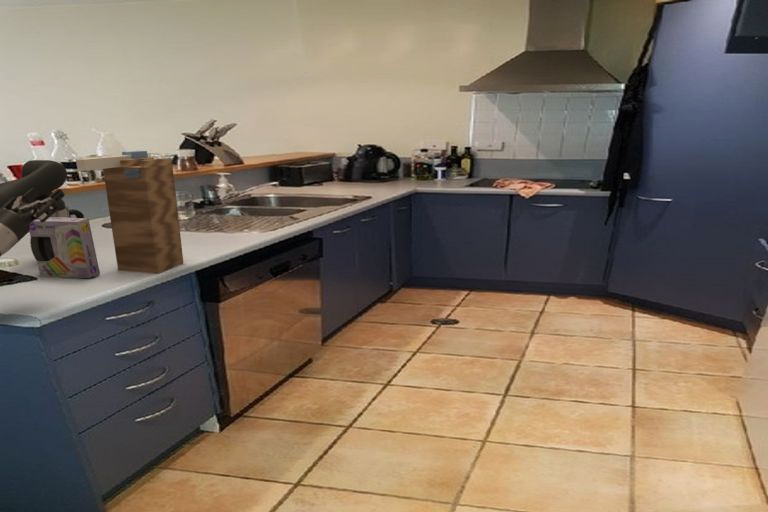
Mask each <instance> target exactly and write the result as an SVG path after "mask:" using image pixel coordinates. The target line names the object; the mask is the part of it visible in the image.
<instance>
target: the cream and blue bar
mask: <svg viewBox="0 0 768 512" xmlns="http://www.w3.org/2000/svg"><path fill="white" fill-rule="evenodd" d="M139 158H150V156H149V153H148V151H147V150H131V151H130V150H129V151H128V150H127V151H121V155H113V156H112V155H109V156H100V157H87V158H77V159H75V164H76V167H77V168H76V169H77V171H84V172H85V171H86V172H87V171H94V170H95V171H97V170H103V169H106V168H115V167H121V164H120V160H129V159H139Z"/></svg>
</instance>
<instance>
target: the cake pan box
mask: <svg viewBox="0 0 768 512" xmlns="http://www.w3.org/2000/svg"><path fill="white" fill-rule="evenodd" d="M28 233H29V237H30V242H29V243H30V249H31V252H32V256H33V257H34V259H35V260H36V264H37V269H38V272H39V277H40V276H41V277H56V278H57V277H59V278H76V279H77V278H79V279H82V278H83V279H84V278H85V279H86V278H87V279H90V278H93V277H96V276H99V275H101V271H100V267H99V262H98V258H97V252H96V248H95V242H94V239H93V234H92V233H93V232H92V228H91V224H90V220H89V218H88V217H87V218H85V217H84V218H76V217H71V218H66V217H56V218H53V217H49V218H48V219H47V220H46V221H45V222H41V221H40V220H39V219H36V220H34V221H33V222H31V223H30V231H29V232H28Z"/></svg>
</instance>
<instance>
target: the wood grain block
mask: <svg viewBox="0 0 768 512" xmlns="http://www.w3.org/2000/svg"><path fill="white" fill-rule="evenodd" d="M120 164H121V167H115V168H106V169H102V171H103V179H104V185H105V191H106V192H105V193H106V198H107V205H108V212H109V218H110V226H111V231H112V238H113V240H112V241H113V244H114V252H115V259H116V265H117V270H118V271H125V272H136V273H144V274H145V273H146V274H156V275H158V274H160V273H161V274H162V273H163V272H165V271H168V270H171V269H173V268H176V267H178V266H180V265H183V263H184V255H183V248H182V246H183V245H182V237H181V230H180V229H181V228H180V220H179V211H178V203H177V194H176V185H175V176H174V167H173V158H172V157H164V158H163V157H162V158H154V157H149V158H139V159H129V160H120Z"/></svg>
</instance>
